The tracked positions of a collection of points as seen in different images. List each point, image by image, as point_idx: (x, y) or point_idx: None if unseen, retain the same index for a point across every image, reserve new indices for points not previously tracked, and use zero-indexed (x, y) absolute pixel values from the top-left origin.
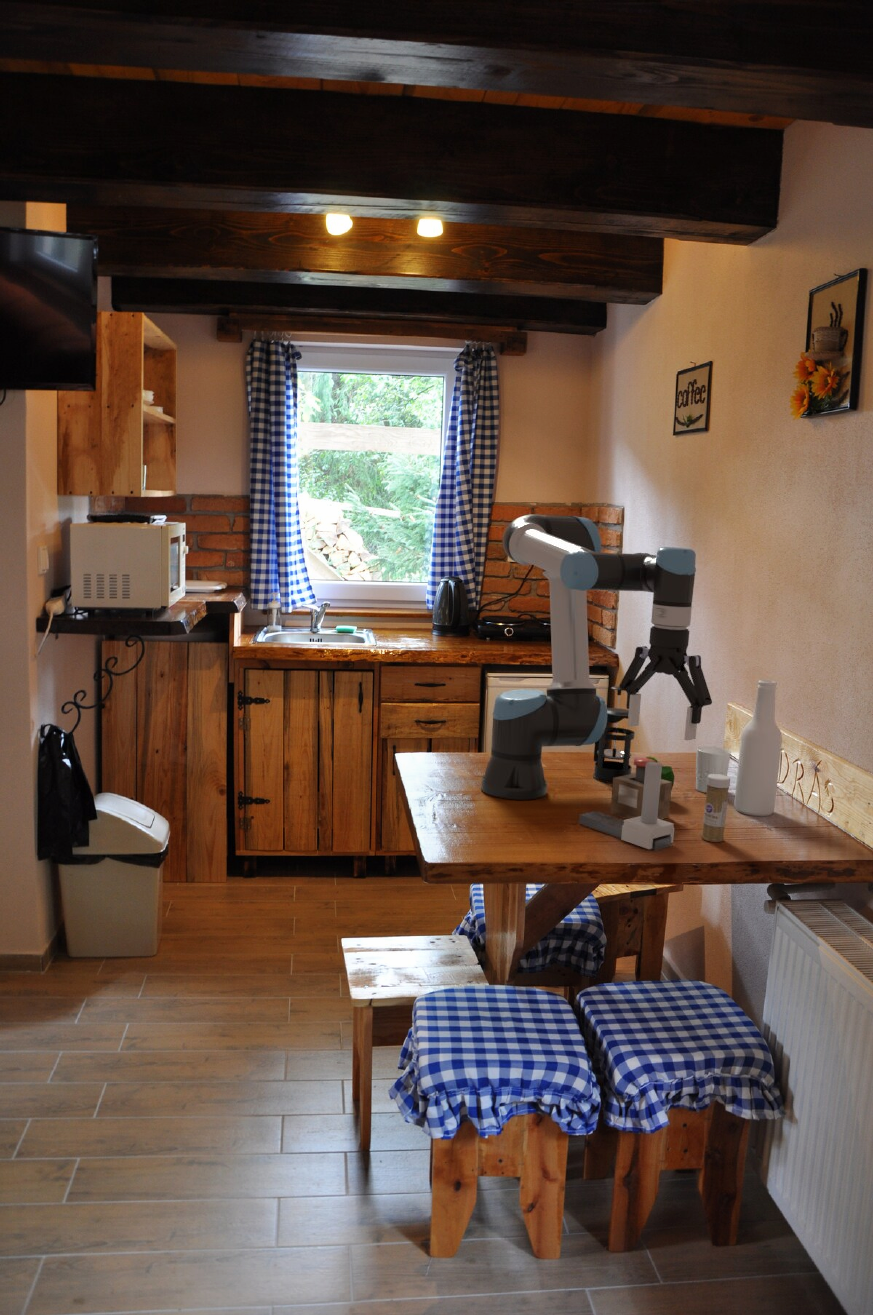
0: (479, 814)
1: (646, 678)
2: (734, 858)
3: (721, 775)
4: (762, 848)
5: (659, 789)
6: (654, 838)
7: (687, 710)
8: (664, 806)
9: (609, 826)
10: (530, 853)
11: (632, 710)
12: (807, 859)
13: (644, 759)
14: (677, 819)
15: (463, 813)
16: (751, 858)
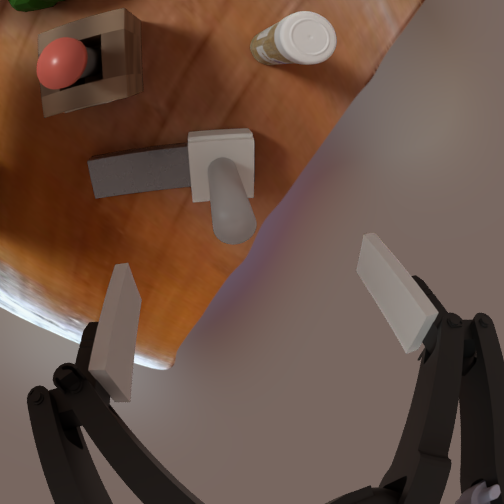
0: (41, 281)
1: (170, 476)
2: (341, 100)
3: (308, 22)
4: (341, 25)
5: (245, 191)
6: None
7: (401, 342)
8: (135, 32)
9: (157, 189)
10: (178, 310)
11: (134, 344)
12: (399, 27)
13: (54, 57)
14: (157, 13)
15: (37, 292)
16: (355, 80)
